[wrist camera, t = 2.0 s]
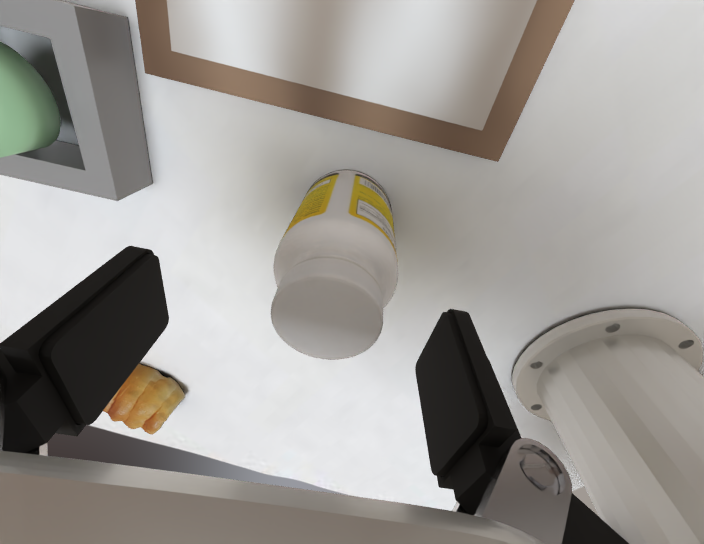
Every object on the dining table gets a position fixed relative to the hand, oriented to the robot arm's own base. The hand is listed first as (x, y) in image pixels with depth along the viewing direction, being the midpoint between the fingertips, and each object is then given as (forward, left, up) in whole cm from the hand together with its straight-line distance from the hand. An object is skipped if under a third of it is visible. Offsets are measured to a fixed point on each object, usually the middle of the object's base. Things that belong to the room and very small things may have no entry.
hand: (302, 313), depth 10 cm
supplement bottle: (-1, 0, -10) cm, 10 cm away
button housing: (+15, -3, -10) cm, 18 cm away
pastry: (+15, +23, -10) cm, 29 cm away
